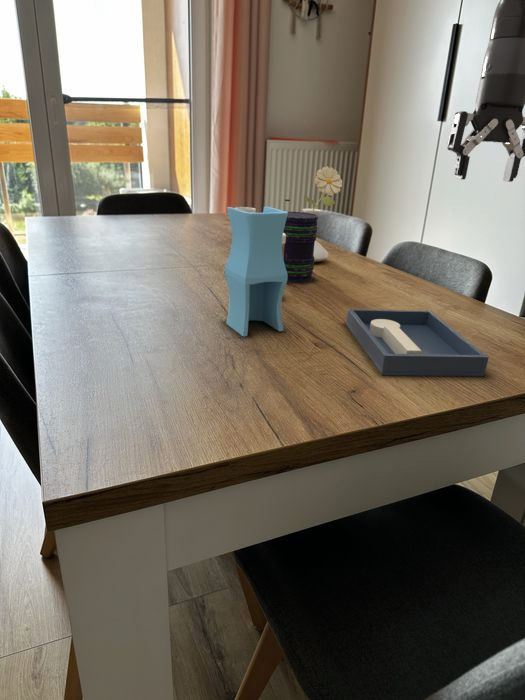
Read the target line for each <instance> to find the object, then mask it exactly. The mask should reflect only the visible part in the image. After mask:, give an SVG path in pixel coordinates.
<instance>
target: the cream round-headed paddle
mask: <svg viewBox="0 0 525 700" xmlns="http://www.w3.org/2000/svg"><path fill="white" fill-rule="evenodd" d="M370 332H371V333H372V334H373V335H374V336H376V337H380V338H382V339H383V340H384V341H385V342H386V343H387V345H388V346H389V347H390V348H391V349H392V351H393V352H394V353H395V354H421V350H420V349H419V348H418V347H417V346H416V345H415V344H414V343H413V341H412V340H411V339H410V338H409V337H408V336H407V335H406V334H405V333H404V332H403V331H402V330H401V329H400V324H399V323H397V322H395V321H392V320H387V319H375V320H372V321H371V324H370Z"/></svg>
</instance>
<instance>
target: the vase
mask: <svg viewBox="0 0 525 700" xmlns="http://www.w3.org/2000/svg"><path fill="white" fill-rule="evenodd" d="M226 211H227V215H228V219H229V224H230V230H231V246H230V251H229V255H228V258H227V261H226V263H225V266H224V275H225V280H226V284H227V290H228V298H229V299H228V301H229V302H228V312H227V318H226V323H225V324H226V325H227V326H228V327H230V328H231V330H234V331H235V332H236V333H237V334H239V335H240V336H242V337H248V331H249V321H250V322H251V321H257V322H258V321H259V322H264V323H266V324H267V325H268V326H271V327H272V328H273V329H274V330H277V331H278V332H284V331H285V330H284V326H283V320H282V300H283V298H284V292H285V288H286V286H287V284H288V283H287V278H288V275H287V271H286V268H285V264H284V260H283V254H282V236H283V231H284V226H285V222H286V219H287V216H288V212H289V211H286V210H283V209H278V208H276V207H271V206H264V207H263V211H262V212H255V213H252V212H245V211H242V210H239V209H235V207H232V206H227V207H226Z"/></svg>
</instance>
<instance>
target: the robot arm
mask: <svg viewBox="0 0 525 700" xmlns="http://www.w3.org/2000/svg"><path fill="white" fill-rule="evenodd" d="M524 108H525V0H499V2H498V3H497V5H496V8H495V12H494V15H493V19H492V24H491V29H490V34H489V40H488V43H487V48H486V51H485V54H484V56H483V63H482V67H481V73H480V77H479V83H478V88H477V93H476V99H475V109H474V111H473V112H471V113H470V112H468V111H464V110H462V111H456V112H455V113H454V115H453V119H452V124H451V128H450V132H449V137H448V141H447V145H446V148H447V150H448V151H451V152H453V153H455V154H456V161H455V165H454V171H453V172H454V175H455V176H456V179H457V180H466V179H467V178H466V177H467V175H468V169H469V164H470V158H471V156H470V155H469V154H470V153H471V152H472V151H473V150H474V149H475V148H476V147H477V146H478V145H480V144H481V143H482V142H483V143H484V142H485V143H491V142H492V143H501V144H502V146H503V147H504V148H505V150H506V152H507V154H508V157H507V158H506V164H505V168H504V173H503V178H502V180H503V181H504V182H509V183H510V182H511V183H512V182H514V179H517V177H518V174H519V169H520V164H521V160H522V159H523V158H525V116H524V115H523V111H524ZM469 123H471V126H472V128H473V129H472V130H471V131H470V133H469V134H468V135H467V136H466V137H465V138H464V134H465V130H466V129H465V128H466V127H468V126H469ZM520 127H521V129H522V136H521V139H520V137H519V135H518V132H517V131H518V129H519V128H520ZM463 138H464V141H463ZM462 141H463V142H462Z"/></svg>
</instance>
